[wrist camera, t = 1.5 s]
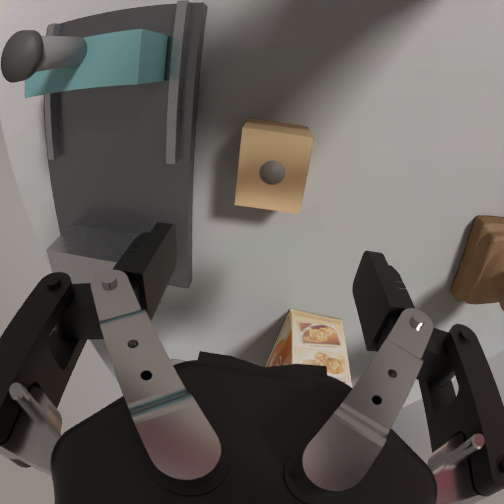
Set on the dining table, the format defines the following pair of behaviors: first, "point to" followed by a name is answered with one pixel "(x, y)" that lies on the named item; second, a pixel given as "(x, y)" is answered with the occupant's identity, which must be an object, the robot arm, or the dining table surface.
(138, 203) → the frame
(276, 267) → the dining table surface
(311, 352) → the coffeecake box
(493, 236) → the candle holder
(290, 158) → the block
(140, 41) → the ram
